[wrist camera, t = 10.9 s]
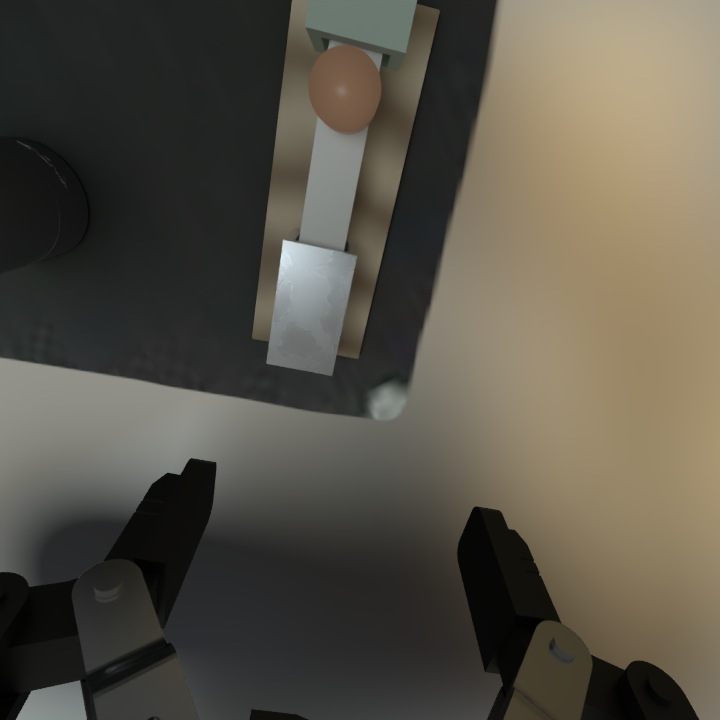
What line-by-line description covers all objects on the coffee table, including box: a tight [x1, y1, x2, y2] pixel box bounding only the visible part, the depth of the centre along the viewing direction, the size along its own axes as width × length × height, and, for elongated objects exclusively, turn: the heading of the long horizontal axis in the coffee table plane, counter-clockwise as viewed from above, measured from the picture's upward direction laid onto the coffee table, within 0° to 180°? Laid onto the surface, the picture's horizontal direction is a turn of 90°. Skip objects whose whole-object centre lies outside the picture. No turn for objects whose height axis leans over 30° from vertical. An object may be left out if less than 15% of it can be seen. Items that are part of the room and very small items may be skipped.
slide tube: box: [299, 40, 383, 251], centre depth 29 cm, size 17×4×8 cm, turn 168°
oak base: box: [252, 0, 440, 359], centre depth 36 cm, size 27×10×1 cm, turn 168°
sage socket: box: [305, 0, 417, 72], centre depth 28 cm, size 4×6×6 cm, turn 78°
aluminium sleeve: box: [266, 229, 357, 376], centre depth 36 cm, size 10×5×5 cm, turn 168°
